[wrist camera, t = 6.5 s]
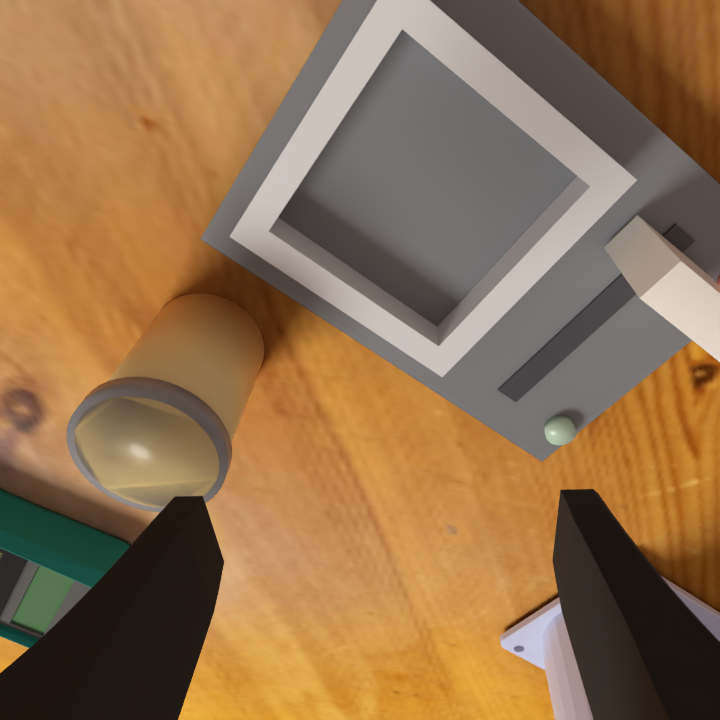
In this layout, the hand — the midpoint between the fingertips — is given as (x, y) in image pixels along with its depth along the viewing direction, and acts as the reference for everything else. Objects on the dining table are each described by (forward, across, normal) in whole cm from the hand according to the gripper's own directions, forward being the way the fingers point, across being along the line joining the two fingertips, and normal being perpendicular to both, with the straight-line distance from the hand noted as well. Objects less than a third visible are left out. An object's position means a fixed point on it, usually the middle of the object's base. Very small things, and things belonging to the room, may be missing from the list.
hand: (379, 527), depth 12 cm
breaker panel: (+10, -3, -3) cm, 10 cm away
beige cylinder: (+10, +7, +1) cm, 12 cm away
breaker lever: (+8, -8, -2) cm, 11 cm away
